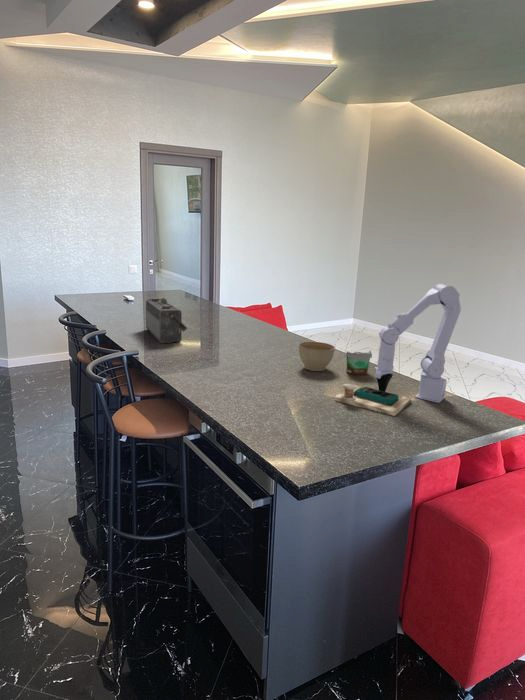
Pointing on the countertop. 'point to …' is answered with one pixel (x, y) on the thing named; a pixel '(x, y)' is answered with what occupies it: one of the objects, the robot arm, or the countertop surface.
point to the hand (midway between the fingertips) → (382, 391)
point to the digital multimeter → (377, 395)
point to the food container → (358, 363)
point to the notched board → (350, 399)
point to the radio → (164, 320)
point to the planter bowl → (316, 355)
